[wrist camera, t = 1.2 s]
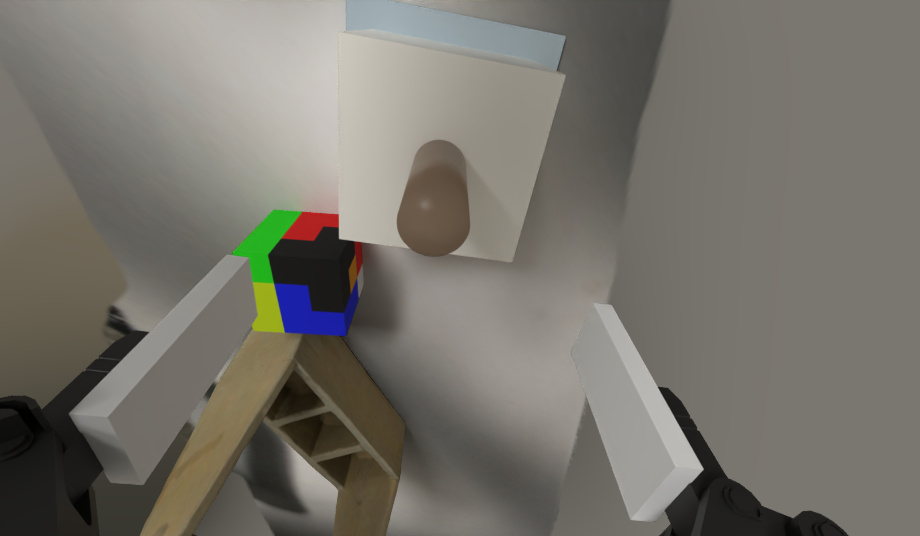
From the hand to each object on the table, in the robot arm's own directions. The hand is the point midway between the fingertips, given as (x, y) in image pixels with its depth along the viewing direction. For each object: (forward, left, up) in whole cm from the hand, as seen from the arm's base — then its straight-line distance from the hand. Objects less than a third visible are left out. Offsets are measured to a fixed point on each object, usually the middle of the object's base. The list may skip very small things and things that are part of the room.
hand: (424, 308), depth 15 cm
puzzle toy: (+17, -13, -30) cm, 37 cm away
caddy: (+41, -11, -30) cm, 52 cm away
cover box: (0, 0, -29) cm, 29 cm away
